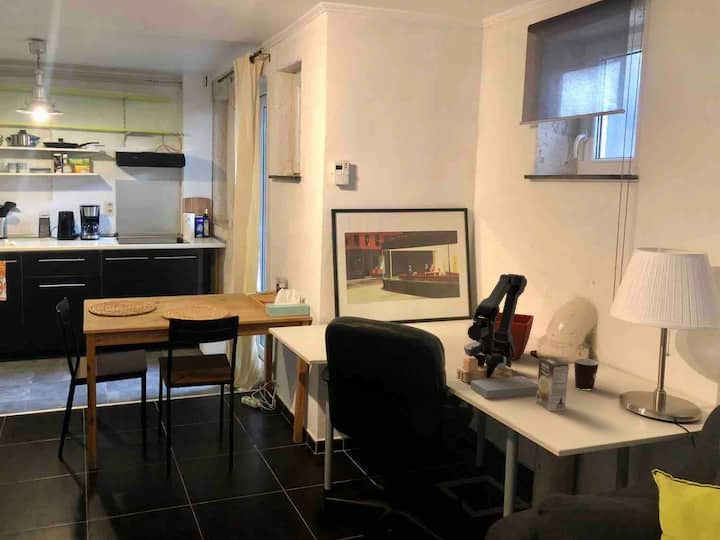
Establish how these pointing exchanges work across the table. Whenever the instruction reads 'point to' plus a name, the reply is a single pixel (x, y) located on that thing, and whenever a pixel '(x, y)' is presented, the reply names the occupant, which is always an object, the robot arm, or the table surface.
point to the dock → (504, 387)
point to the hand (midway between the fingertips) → (484, 375)
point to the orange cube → (470, 364)
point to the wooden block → (482, 373)
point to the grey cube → (501, 364)
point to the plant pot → (518, 332)
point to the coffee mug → (585, 373)
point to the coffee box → (552, 384)
